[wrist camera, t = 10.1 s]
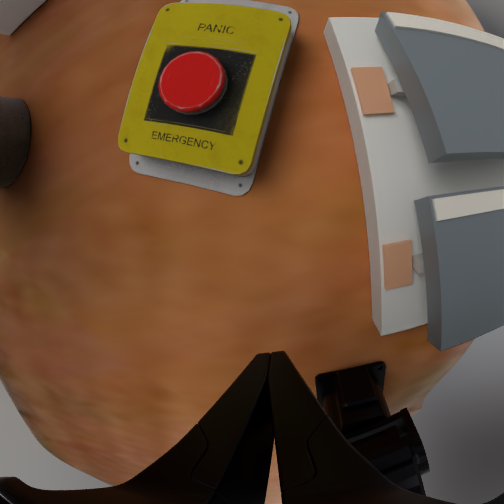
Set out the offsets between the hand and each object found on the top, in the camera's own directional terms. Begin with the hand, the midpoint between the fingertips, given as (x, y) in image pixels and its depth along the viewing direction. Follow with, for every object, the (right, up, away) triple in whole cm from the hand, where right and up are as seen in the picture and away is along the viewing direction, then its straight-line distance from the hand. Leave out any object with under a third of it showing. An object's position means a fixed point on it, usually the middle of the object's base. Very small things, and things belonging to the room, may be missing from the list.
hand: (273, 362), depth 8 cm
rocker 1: (+13, +13, +2) cm, 19 cm away
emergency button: (-3, +15, +9) cm, 18 cm away
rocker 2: (+16, +3, +5) cm, 17 cm away
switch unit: (+14, +10, +8) cm, 19 cm away
